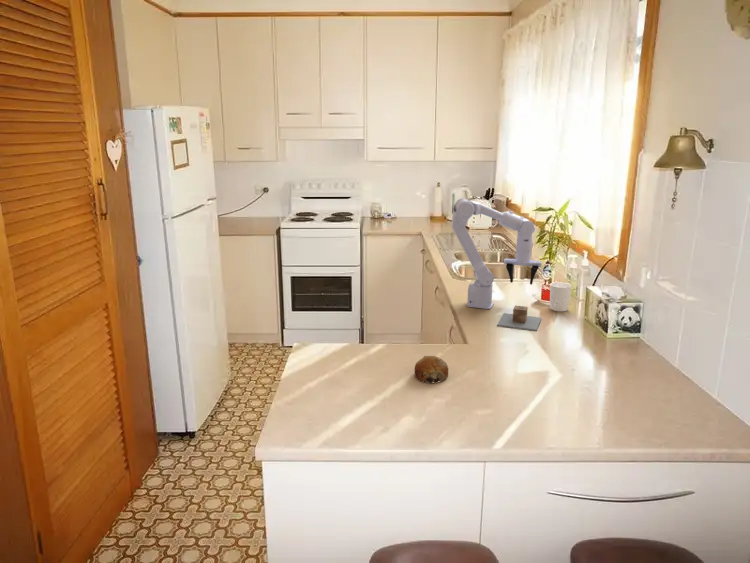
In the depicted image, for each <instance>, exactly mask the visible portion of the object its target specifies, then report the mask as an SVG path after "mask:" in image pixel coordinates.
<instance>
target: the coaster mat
mask: <svg viewBox="0 0 750 563" xmlns="http://www.w3.org/2000/svg"><path fill="white" fill-rule="evenodd" d="M541 321H542V317H541V316H531V315H527V320H526V322H525V323H517V322H513V313H507V312H504V313H503V314H502V316H501V317H500V319H499V320H498V322H497V324H496V327H501V328H510V329H516V330H523V331H524V330H526V331H533V332H537V331H538V329H539V326H540V324H541Z"/></svg>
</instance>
